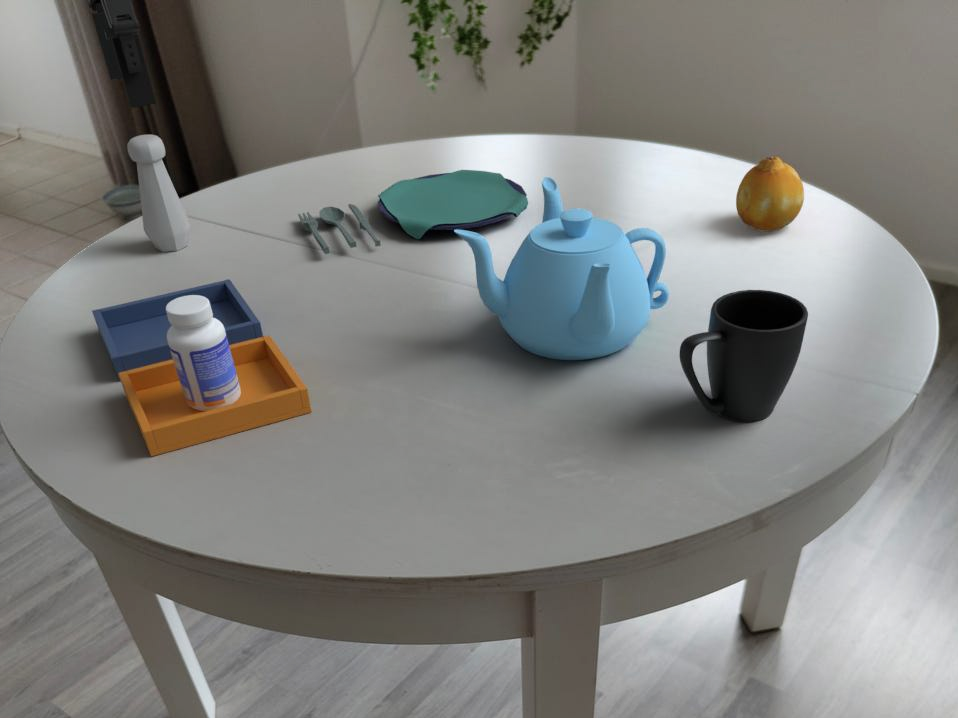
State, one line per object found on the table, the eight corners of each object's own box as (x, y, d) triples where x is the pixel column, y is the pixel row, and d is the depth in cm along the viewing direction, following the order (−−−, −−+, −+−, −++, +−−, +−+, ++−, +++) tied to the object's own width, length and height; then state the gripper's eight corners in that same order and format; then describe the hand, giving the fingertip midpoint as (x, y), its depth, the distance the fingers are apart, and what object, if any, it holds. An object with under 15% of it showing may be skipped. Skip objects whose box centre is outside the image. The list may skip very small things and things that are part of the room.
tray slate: (119, 381, 97) (111, 358, 95) (99, 332, 105) (91, 310, 103) (265, 344, 101) (260, 321, 99) (234, 300, 110) (229, 278, 108)
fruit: (711, 203, 118) (749, 150, 111) (751, 191, 122) (790, 140, 115) (750, 253, 117) (790, 203, 110) (788, 240, 121) (830, 191, 114)
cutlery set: (549, 225, 122) (549, 207, 120) (324, 267, 115) (321, 248, 114) (496, 177, 135) (495, 160, 133) (292, 212, 129) (289, 195, 127)
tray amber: (151, 456, 86) (142, 432, 84) (125, 396, 95) (117, 372, 93) (311, 412, 91) (307, 388, 89) (274, 357, 99) (269, 334, 97)
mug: (647, 409, 88) (656, 312, 82) (750, 376, 92) (767, 281, 85) (699, 451, 83) (713, 351, 76) (806, 414, 86) (829, 316, 80)
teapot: (455, 348, 99) (447, 229, 90) (545, 281, 110) (546, 169, 101) (599, 388, 92) (606, 263, 83) (681, 312, 102) (694, 195, 94)
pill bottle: (250, 387, 94) (227, 292, 87) (228, 415, 90) (202, 319, 83) (200, 383, 95) (174, 289, 88) (176, 410, 91) (147, 315, 84)
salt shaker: (142, 254, 121) (110, 144, 112) (160, 236, 125) (130, 129, 116) (184, 255, 120) (155, 145, 111) (201, 237, 124) (174, 129, 115)
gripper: (125, -149, 85) (188, 111, 99) (85, -164, 101) (144, 61, 116) (40, -140, 82) (117, 124, 97) (13, -157, 99) (83, 71, 114)
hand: (132, 90), depth 107 cm, fingers open, 13 cm apart
